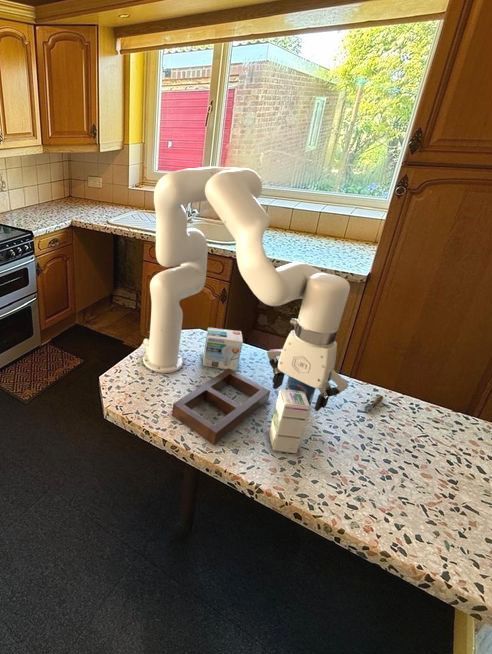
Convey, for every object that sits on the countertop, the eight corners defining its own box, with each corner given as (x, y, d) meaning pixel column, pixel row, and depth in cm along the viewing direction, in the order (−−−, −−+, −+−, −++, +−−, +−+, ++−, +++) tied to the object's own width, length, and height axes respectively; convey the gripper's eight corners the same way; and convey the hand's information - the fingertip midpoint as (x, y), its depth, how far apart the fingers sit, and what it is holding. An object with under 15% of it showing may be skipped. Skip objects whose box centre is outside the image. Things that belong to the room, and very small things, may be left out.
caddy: (171, 415, 107) (173, 403, 105) (226, 378, 121) (228, 368, 119) (213, 445, 97) (216, 433, 96) (267, 402, 112) (270, 390, 110)
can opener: (378, 397, 113) (379, 394, 113) (387, 402, 111) (388, 399, 111) (361, 409, 109) (362, 406, 108) (370, 414, 107) (371, 411, 107)
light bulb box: (202, 366, 127) (207, 337, 122) (202, 354, 132) (207, 326, 127) (237, 371, 124) (243, 342, 119) (236, 359, 130) (241, 330, 125)
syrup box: (297, 454, 95) (312, 407, 88) (271, 450, 96) (284, 403, 89) (291, 436, 100) (306, 391, 93) (267, 433, 101) (279, 387, 94)
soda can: (277, 402, 111) (287, 367, 106) (289, 392, 115) (298, 357, 110) (302, 415, 107) (314, 379, 101) (313, 404, 111) (325, 369, 105)
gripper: (267, 322, 87) (253, 385, 95) (352, 356, 75) (329, 425, 83) (284, 312, 92) (270, 373, 99) (367, 342, 80) (344, 409, 87)
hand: (297, 396), depth 91 cm, fingers open, 9 cm apart
